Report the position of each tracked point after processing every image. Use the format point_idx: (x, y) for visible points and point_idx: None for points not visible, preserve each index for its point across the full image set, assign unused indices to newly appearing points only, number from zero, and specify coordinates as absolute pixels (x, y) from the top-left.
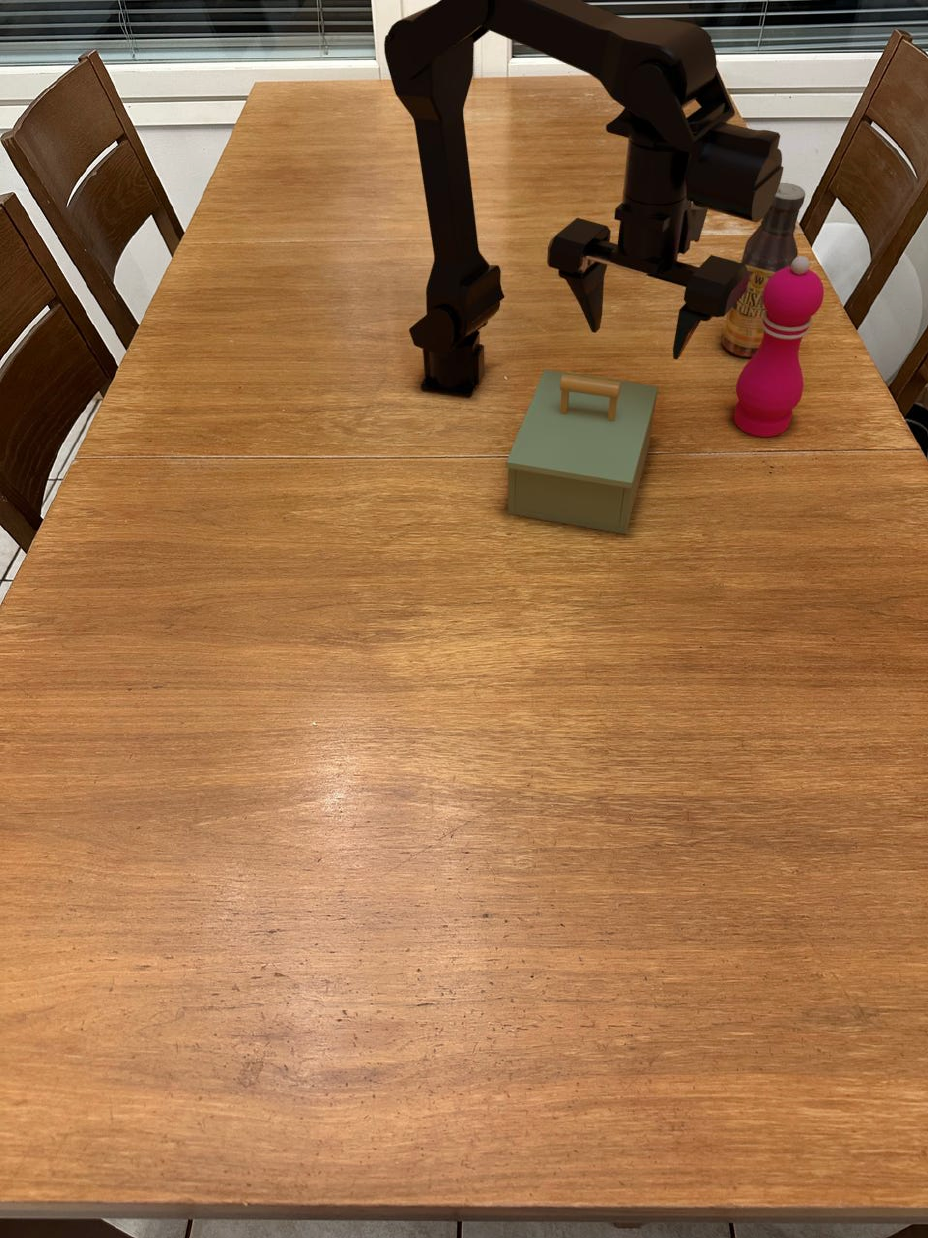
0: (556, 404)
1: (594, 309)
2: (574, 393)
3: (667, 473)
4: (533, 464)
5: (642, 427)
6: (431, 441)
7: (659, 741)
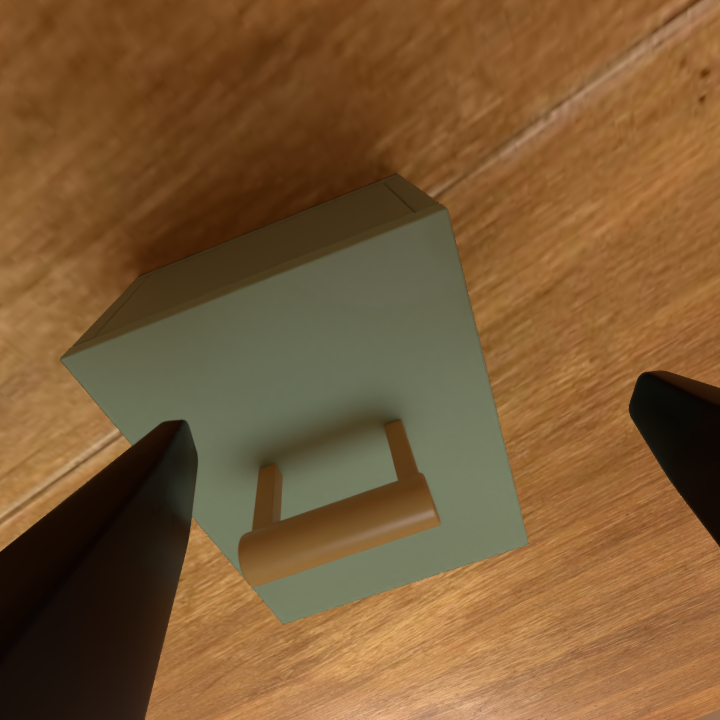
0: (232, 462)
1: (153, 609)
2: (237, 400)
3: (478, 251)
4: (332, 605)
5: (483, 410)
6: (10, 450)
7: (608, 602)
